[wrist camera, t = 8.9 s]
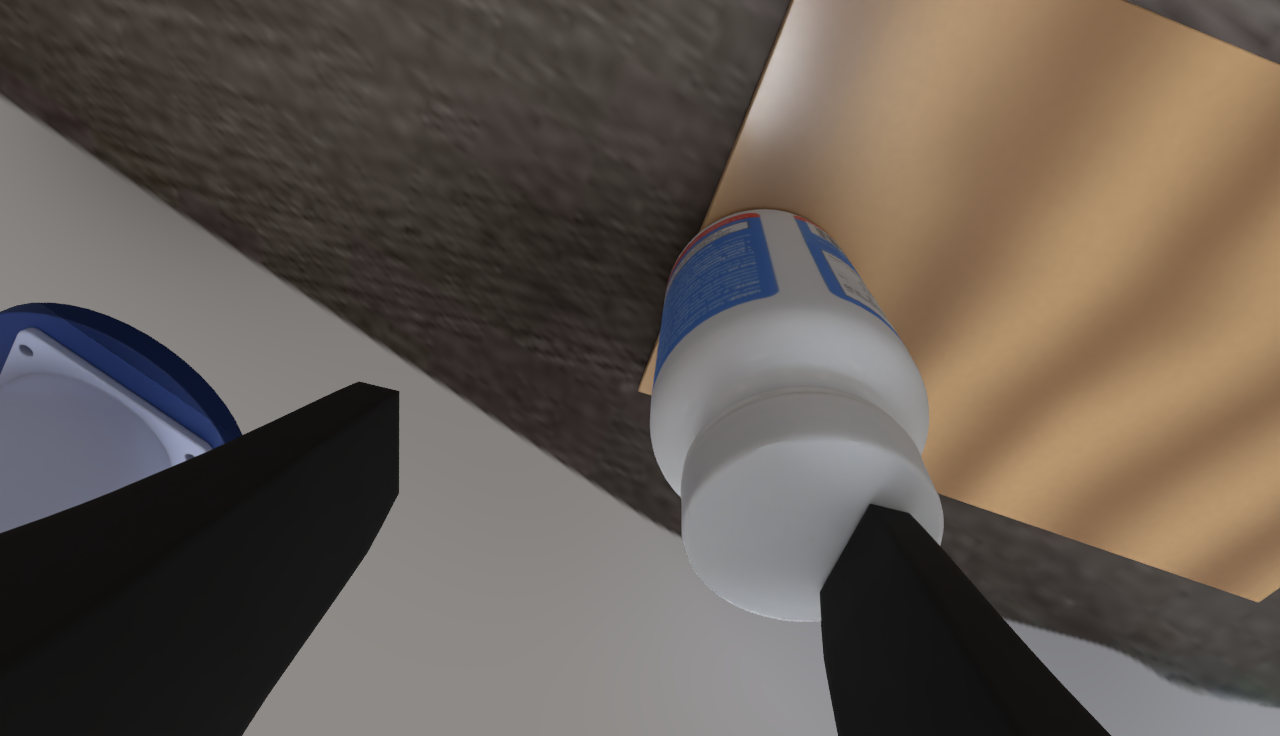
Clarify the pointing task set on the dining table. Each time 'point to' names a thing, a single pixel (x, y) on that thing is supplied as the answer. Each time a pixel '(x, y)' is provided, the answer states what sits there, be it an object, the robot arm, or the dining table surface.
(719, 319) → the pill bottle
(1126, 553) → the mat
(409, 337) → the dining table surface
